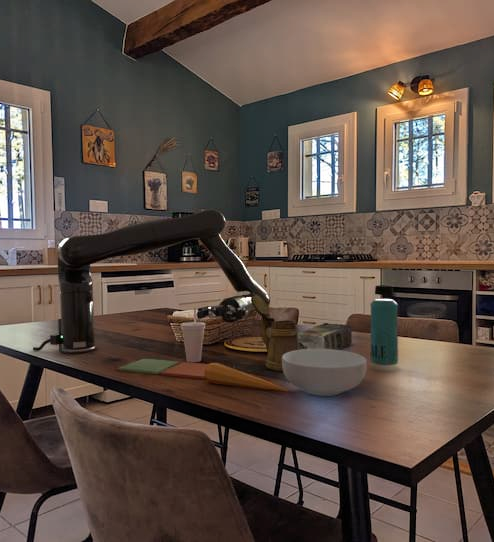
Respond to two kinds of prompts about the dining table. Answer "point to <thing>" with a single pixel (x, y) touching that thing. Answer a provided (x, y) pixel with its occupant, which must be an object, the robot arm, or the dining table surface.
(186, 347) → the smoothie
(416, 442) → the dining table surface
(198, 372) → the terracotta mat
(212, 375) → the carrot
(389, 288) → the beverage bottle
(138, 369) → the green mat
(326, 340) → the grey patterned box
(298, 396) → the dining table surface
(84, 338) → the robot arm
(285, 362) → the cereal bowl
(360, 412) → the dining table surface
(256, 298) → the wooden mug
